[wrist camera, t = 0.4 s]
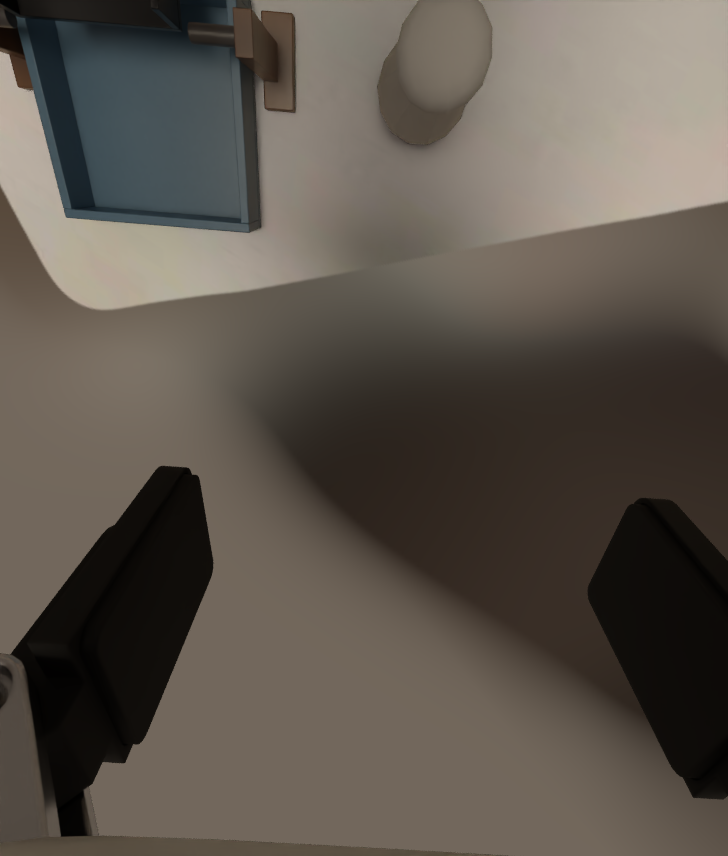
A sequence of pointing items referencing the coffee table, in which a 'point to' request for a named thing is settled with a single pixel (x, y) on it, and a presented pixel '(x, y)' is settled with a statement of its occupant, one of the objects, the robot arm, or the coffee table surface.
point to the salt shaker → (435, 68)
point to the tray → (148, 121)
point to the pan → (102, 12)
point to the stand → (252, 39)
